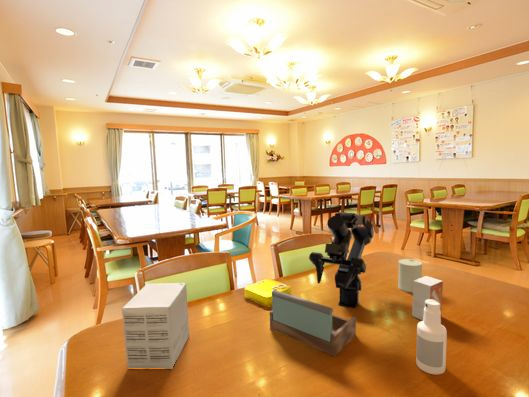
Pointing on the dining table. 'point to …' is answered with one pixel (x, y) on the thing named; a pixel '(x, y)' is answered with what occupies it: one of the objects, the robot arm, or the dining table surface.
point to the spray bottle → (431, 340)
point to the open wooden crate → (340, 338)
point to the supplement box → (156, 325)
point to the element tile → (265, 291)
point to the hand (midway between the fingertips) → (331, 285)
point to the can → (409, 273)
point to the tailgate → (303, 315)
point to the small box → (426, 294)
